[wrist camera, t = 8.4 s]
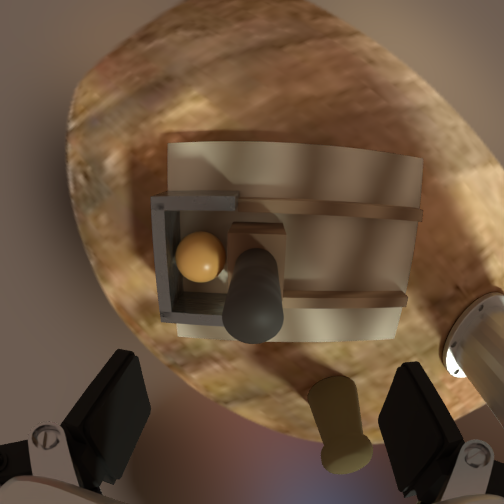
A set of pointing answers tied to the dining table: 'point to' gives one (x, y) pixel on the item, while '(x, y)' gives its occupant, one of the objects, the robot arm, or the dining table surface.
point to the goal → (165, 244)
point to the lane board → (313, 229)
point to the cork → (339, 425)
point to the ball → (200, 256)
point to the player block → (255, 281)
